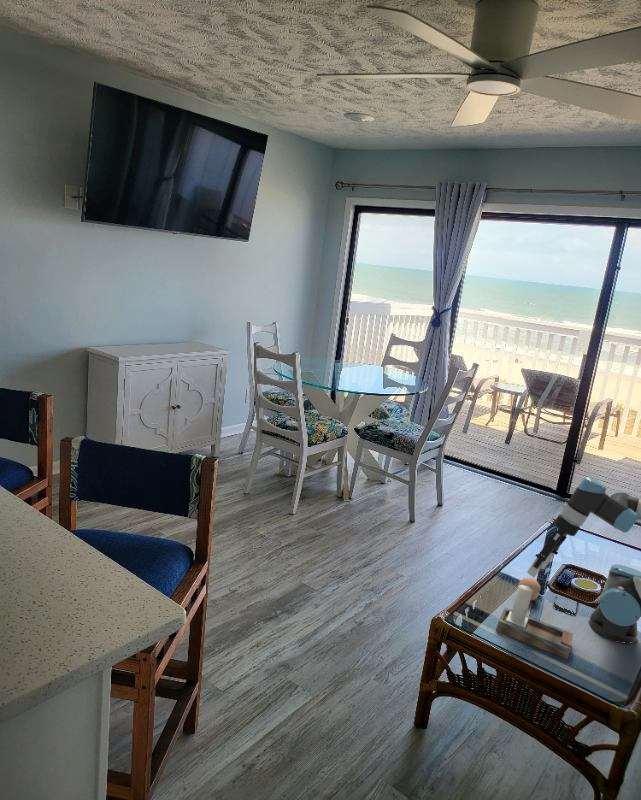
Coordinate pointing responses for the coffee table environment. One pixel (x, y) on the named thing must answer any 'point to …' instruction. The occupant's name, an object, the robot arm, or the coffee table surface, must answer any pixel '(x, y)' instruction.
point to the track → (538, 634)
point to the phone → (563, 609)
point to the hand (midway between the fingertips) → (535, 570)
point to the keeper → (520, 607)
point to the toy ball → (531, 586)
